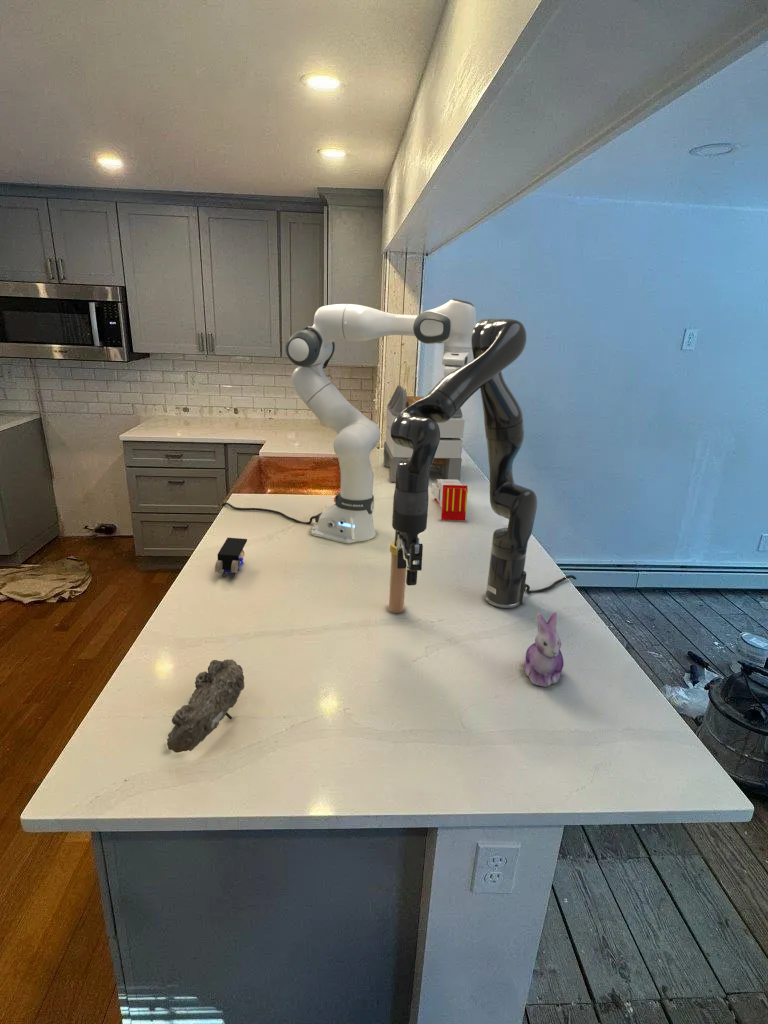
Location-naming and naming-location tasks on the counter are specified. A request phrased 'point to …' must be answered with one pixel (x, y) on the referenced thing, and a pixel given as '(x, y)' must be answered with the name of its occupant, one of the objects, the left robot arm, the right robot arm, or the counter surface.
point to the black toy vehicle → (230, 556)
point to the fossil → (206, 705)
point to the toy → (451, 498)
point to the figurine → (545, 653)
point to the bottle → (396, 587)
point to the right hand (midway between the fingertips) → (406, 575)
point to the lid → (393, 548)
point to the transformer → (447, 449)
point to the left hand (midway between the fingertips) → (454, 403)
